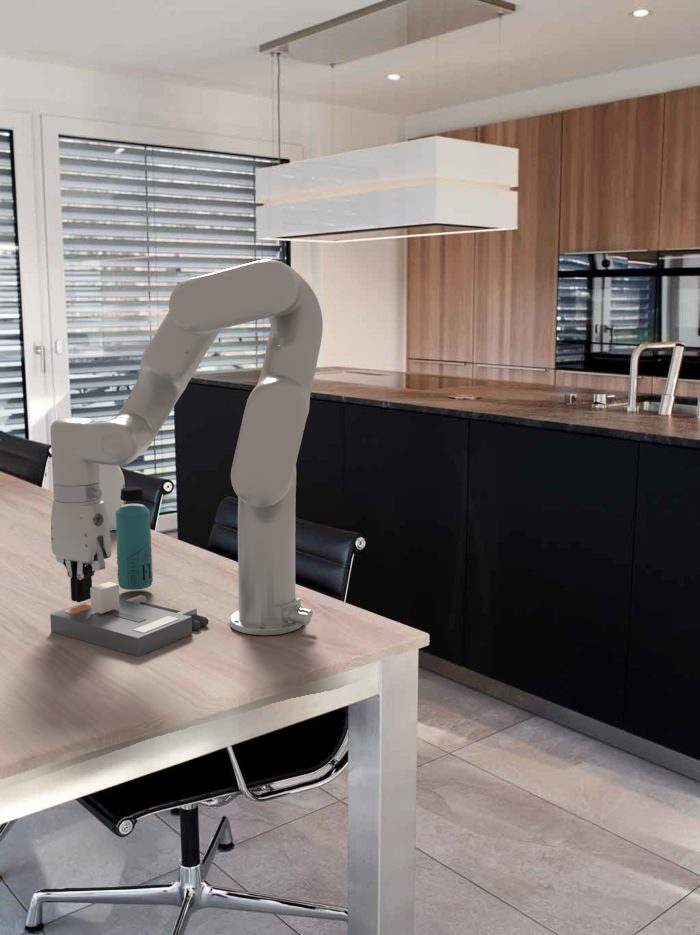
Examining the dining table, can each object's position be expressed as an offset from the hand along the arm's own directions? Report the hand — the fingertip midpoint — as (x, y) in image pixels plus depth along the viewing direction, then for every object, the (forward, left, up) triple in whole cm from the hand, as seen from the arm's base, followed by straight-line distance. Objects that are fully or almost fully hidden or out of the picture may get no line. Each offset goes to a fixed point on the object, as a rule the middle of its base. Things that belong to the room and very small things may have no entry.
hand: (82, 599), depth 160 cm
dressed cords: (-9, -9, -4) cm, 13 cm away
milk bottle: (+47, -50, -4) cm, 69 cm away
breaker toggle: (-6, 0, -1) cm, 6 cm away
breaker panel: (-9, 0, -4) cm, 10 cm away
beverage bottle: (+5, -17, -4) cm, 18 cm away
